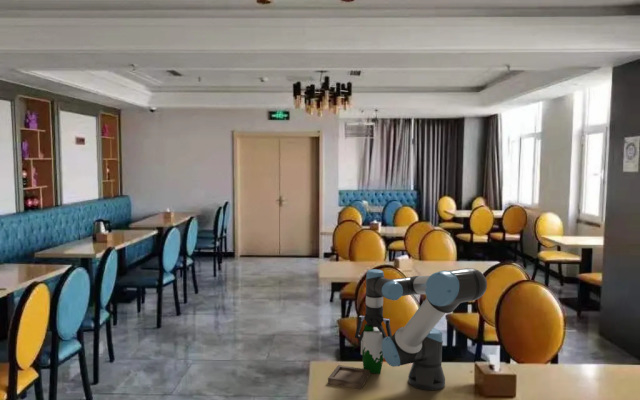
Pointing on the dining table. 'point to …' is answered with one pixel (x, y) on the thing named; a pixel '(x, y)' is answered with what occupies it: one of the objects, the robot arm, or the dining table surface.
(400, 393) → the dining table surface
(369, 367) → the soya milk
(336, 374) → the walnut tray
